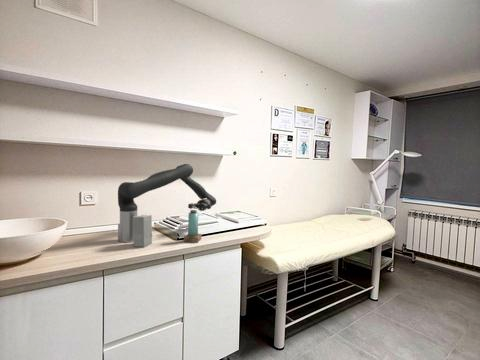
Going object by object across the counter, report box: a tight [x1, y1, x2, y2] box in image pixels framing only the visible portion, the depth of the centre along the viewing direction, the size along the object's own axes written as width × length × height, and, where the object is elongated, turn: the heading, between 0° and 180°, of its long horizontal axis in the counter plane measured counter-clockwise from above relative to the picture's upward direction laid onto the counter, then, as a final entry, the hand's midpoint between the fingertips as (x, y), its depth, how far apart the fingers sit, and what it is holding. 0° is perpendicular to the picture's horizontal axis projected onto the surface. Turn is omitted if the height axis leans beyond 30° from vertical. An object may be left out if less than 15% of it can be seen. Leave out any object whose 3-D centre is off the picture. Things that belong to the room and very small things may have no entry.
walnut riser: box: [183, 233, 202, 244], centre depth 146 cm, size 8×8×3 cm
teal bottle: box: [187, 209, 199, 236], centre depth 146 cm, size 6×6×14 cm
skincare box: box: [133, 214, 153, 248], centre depth 135 cm, size 8×7×16 cm
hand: (196, 207), depth 157 cm, fingers open, 8 cm apart
